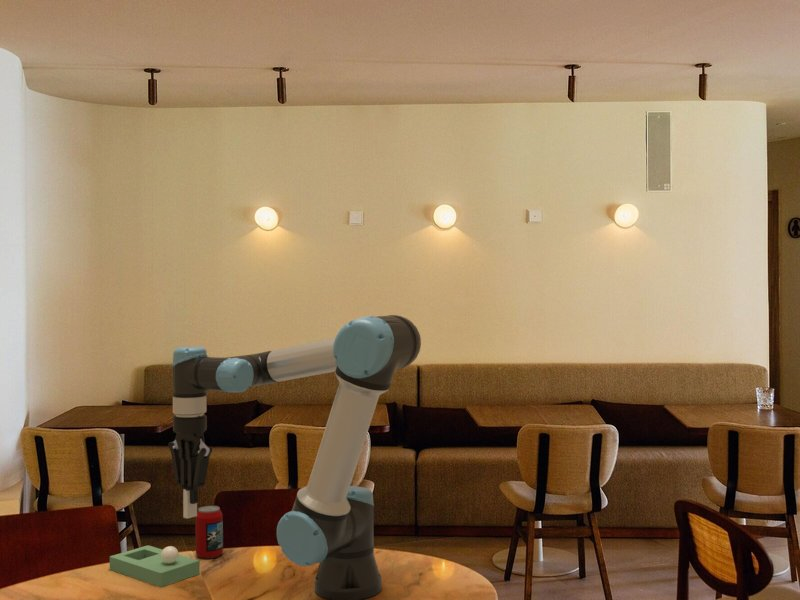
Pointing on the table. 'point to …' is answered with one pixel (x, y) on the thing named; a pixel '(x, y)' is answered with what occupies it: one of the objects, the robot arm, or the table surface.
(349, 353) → the robot arm
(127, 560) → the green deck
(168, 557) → the ball
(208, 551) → the beverage can
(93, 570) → the table surface
